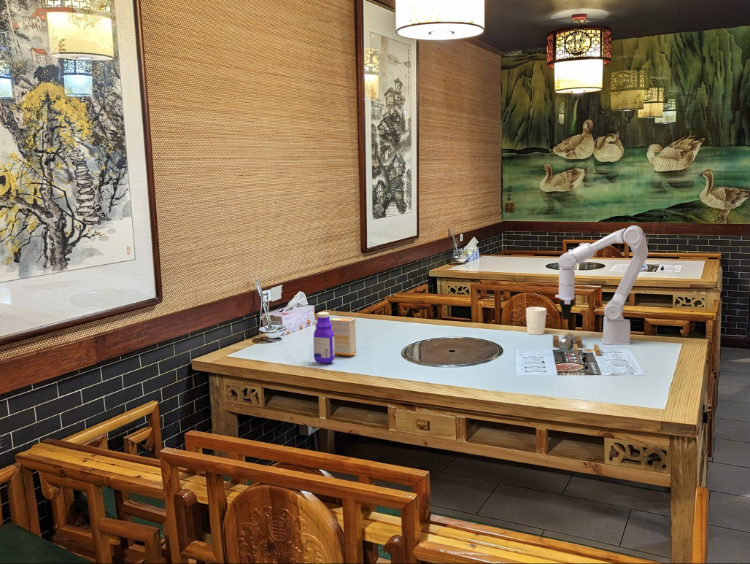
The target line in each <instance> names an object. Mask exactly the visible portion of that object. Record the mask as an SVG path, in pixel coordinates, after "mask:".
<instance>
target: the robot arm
mask: <svg viewBox="0 0 750 564" xmlns="http://www.w3.org/2000/svg"><path fill="white" fill-rule="evenodd" d="M624 242H625V244H627V246H628V247H630V250H631V252H632V254H633V255H632V258H631V260H630V261H629V264H628V266H627V268H626V269H625V271H624V274H623V276H622V279H621V281H620V282H619V285H618V287H617V289H616V291H615V293H614V295H613V297H612V298H611V299H610V300H609V301H608V302H607V303H606V306H605V307H604V309H603V314H604V316H603V326H602V327H603V329H602V337H600V341H601V343H602V345H615V346H616V345H617V346H619V345H622V346H624V345H626V346H630V345H631V321H630V319H625V318H624V316H623V313H624V310H625V306H624V305H625V303H626V300H627V299H628V296H629V294H630V292H631V291H632V288H633V286H634V284H635V283H636V281H637V278H638V276H639V274H640V272H641V270H642V268H643V266H644V264H645V262H646V260H647V258H648V255H649V249H648V243H647V237H646V234H645V233H644V231H643V228H641V227H640V226H639V225H629V226H628V227H627V228H626V227H625V228H621V229H619V230H616V231H614V232H612V233H610V234H608V235H606V236H604V237H602V238H601V239H599V240H597V241H595V242H593V243H589V242H581V243H579V246H577V247H575V248H573V249H571V248H570V249H568V250H567V251H568V252H565V253H563V254H561V255H560V256H559V258H558V266H559V273H558V294H555V298H557V299H560V300H558V304H559V306H560V311H561V315H562V320H566V321H568V320H569V319H570V316H571V311H572V308H573V307H574V305H575V301H574V299H575V297H576V296H575V279H576V278H575V277H576V276H575V265H576V264H581V263H583V262H584V261H587V260H588V259H591V258H593V257H594V256H595V253H596V252H597V251H599V250H602V249H604V248H606V247H608V246H611V245H613V244H615V243H616V244H617V243H618V244H623V243H624Z"/></svg>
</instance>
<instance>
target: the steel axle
mask: <svg viewBox="0 0 750 564" xmlns="http://www.w3.org/2000/svg"><path fill="white" fill-rule="evenodd" d="M574 343H575V335H574V334H573V333H571V332H567V333H566V334H565V335H563V337H562V338H561V340H559V344H558V347H559V348H558V349H559V350H560V351H561V350H565V351H568V350H569V349H570V348H571V346H573V344H574Z"/></svg>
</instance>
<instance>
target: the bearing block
mask: <svg viewBox="0 0 750 564" xmlns="http://www.w3.org/2000/svg"><path fill="white" fill-rule="evenodd" d="M574 337H575V340H574V344H577V346H578V349H583V340H582V336H581V335H574ZM559 342H560V336H559V335H558V334H557V335H555V334H554V335H552V347H553V349H559V347H558V344H559Z"/></svg>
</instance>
